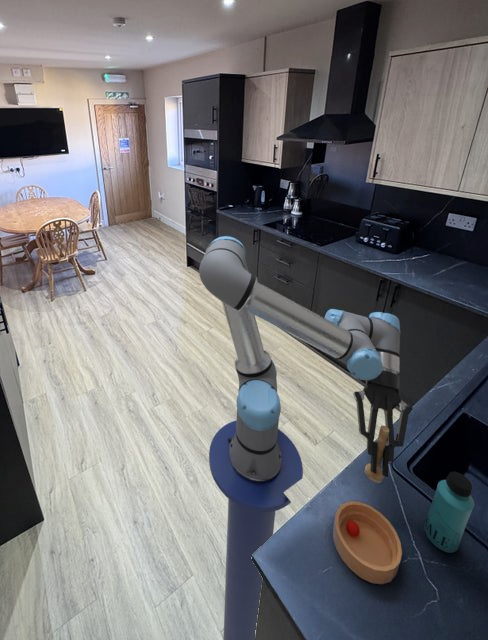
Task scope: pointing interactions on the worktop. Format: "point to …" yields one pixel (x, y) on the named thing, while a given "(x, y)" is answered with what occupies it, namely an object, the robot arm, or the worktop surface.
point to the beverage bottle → (449, 512)
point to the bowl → (367, 543)
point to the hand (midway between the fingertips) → (379, 474)
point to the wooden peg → (378, 455)
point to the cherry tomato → (352, 528)
